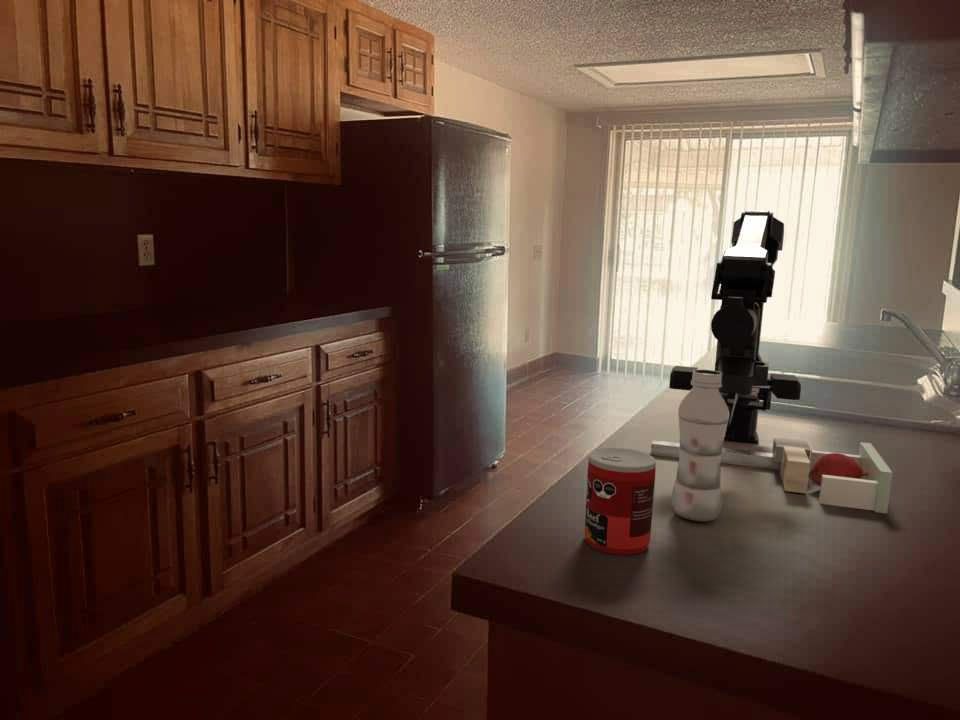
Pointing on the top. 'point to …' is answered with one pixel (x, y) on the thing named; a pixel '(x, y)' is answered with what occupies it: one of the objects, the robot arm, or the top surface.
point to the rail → (722, 455)
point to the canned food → (619, 500)
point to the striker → (793, 463)
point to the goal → (858, 482)
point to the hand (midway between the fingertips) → (728, 436)
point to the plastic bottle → (701, 448)
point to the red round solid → (836, 467)
